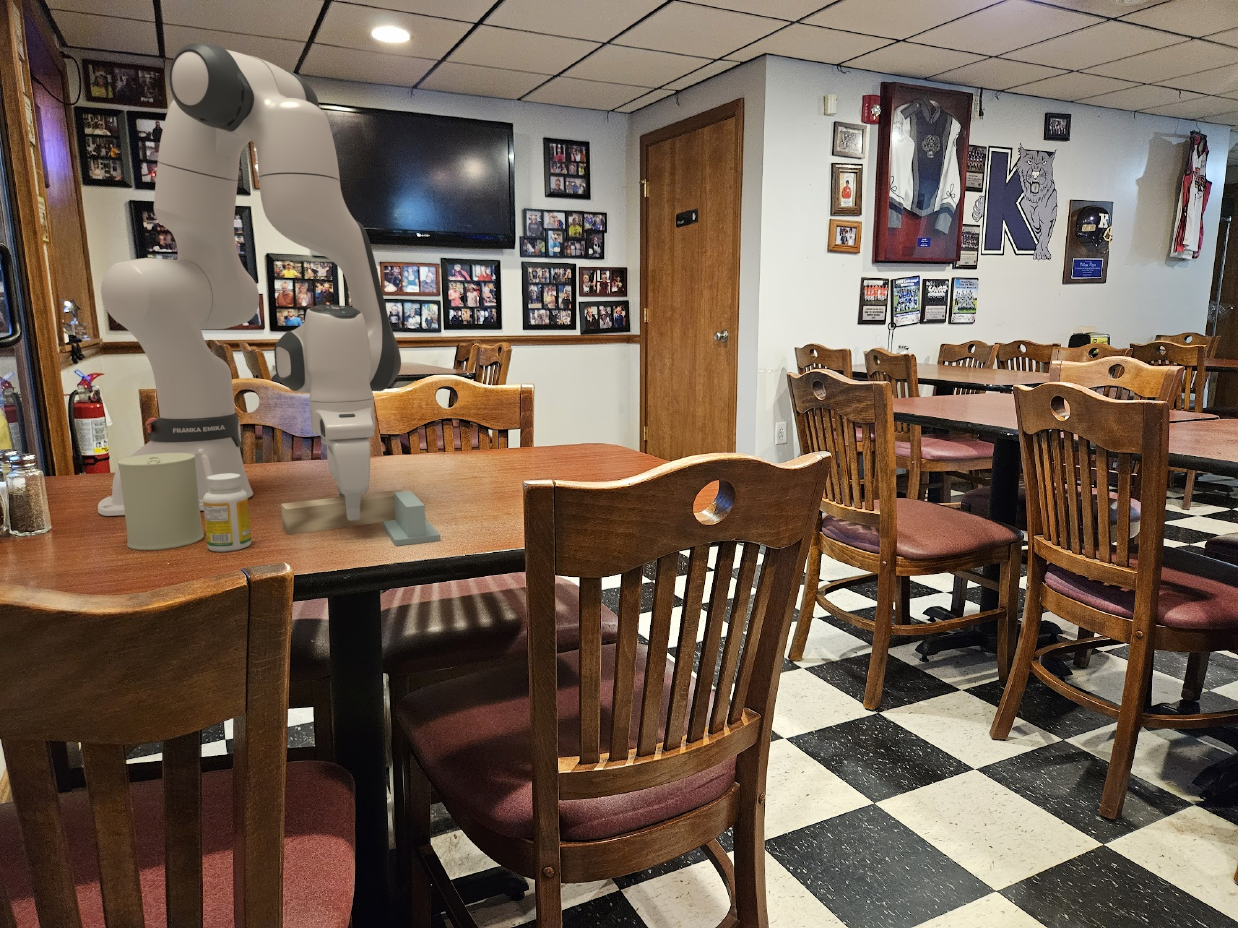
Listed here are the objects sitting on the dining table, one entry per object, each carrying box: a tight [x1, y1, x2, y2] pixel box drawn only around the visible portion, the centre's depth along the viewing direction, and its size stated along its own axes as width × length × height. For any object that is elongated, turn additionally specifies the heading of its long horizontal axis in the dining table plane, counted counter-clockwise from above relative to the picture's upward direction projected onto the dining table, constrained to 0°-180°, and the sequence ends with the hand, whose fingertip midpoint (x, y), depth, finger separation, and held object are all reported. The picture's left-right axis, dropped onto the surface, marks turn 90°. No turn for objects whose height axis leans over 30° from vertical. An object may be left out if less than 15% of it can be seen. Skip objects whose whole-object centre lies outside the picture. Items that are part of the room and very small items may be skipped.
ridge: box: [381, 490, 441, 547], centre depth 113 cm, size 6×11×5 cm, turn 25°
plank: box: [280, 488, 408, 536], centre depth 119 cm, size 18×4×4 cm, turn 122°
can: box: [117, 453, 205, 551], centre depth 110 cm, size 9×9×12 cm
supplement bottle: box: [203, 473, 252, 553], centre depth 107 cm, size 5×5×10 cm
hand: (349, 512), depth 119 cm, fingers open, 8 cm apart
